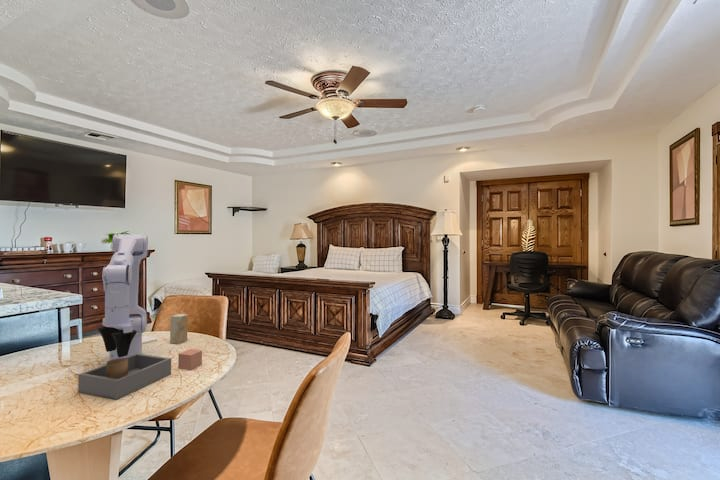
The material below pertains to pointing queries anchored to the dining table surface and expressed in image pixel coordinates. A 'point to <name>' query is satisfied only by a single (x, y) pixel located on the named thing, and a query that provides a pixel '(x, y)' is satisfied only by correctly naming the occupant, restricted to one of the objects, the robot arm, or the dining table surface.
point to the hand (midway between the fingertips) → (116, 353)
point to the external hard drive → (148, 339)
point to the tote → (125, 377)
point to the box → (178, 328)
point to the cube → (190, 359)
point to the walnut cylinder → (117, 368)
